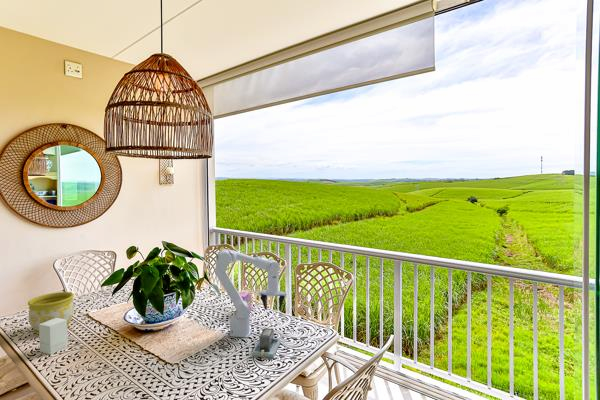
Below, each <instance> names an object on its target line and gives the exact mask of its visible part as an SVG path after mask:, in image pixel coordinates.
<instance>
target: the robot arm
mask: <svg viewBox="0 0 600 400" xmlns="http://www.w3.org/2000/svg"><path fill="white" fill-rule="evenodd" d="M237 261H240V262H244V263H249V264H252V265H253V267H254V268H257V269H261V270H264V271H267V284H266V286H267V290H259V291H258V296H260V300H261V302H262V304H263V308H264V310H265V311H266V310H267V308H268V296H269V297H278V311H279V312H281V310H282V307H283V303H284V300H285V298H287V297H288V292H285V291H281V290H279V281H280V280H279V271H280V269H281V267H280V265H279V263H278V262H277V261H276V260H274V259H273V258H266V257H264V256H263V255H257V256H255V257H253V256H251V255H248V254H245V253H242V252H240V251H236V250H233V249H228V248H222V249H220V250H219V251H218V252H217V254H216V257H215V266H214V273H215V275H216V277H217V279H218V280H219V282H220V284H221V285H222V287H223V288H224V290H225V292H226V294H227V295H228V297H229V298H230V300H231V302H232V304H233V306H234V309H235V314H233V315H231V317H230V319H229V320H230V321H229V335H228V336H229V337H237V338H248V337H249V336H250V335H251V333H252V331H253V328H251V326H250V325H251V322H250V321H251V320H250V317H251V315H250V314H251V313H250V312H251V310H249V308H248V304H247V302H246V301H245V300H243V299H242V297H241V296H240V294H239V293H240V292H239V291H238V290H237V288H236V286H235V284H234V283H233V281H232V279H231V278H230V276H229V275H228V273H227V268H228V266H229V265H230V264H231V262H232V263H235V262H237ZM236 311H237V313H236Z"/></svg>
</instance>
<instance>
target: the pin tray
mask: <svg viewBox="0 0 600 400" xmlns="http://www.w3.org/2000/svg"><path fill="white" fill-rule="evenodd" d="M280 344H281V338H278V337H276V338H275V337H274V344H273V346H272V349H271V351H270V352H264V350H261V352H260V338H259V339H258V340H257V343H256V345H255V346H254V348H253V350H252V351H251V357H254V358H255V357H256V358H261V359H262V360H263V359H264V358H265V359H275V356H276V354H277V351H278V348H279V347H280ZM261 359H260V360H261Z"/></svg>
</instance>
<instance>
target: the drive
mask: <svg viewBox="0 0 600 400" xmlns="http://www.w3.org/2000/svg"><path fill="white" fill-rule="evenodd" d="M274 332H275V330H274V328H266V327H265V328H263V330H262V332H261V334H260V335H259V339H260V352H261V350H264V352H270V351H271V349H272V346H273V344H274V338H275V335H274V334H275V333H274Z"/></svg>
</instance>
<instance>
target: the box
mask: <svg viewBox="0 0 600 400" xmlns="http://www.w3.org/2000/svg"><path fill="white" fill-rule="evenodd" d="M238 293H239V294H240V296H241V297H242V299H243V300H245V301H246V302H247V304H248V308H249V310H250V311H251V310H252V290H250V289H241V291H240V292H238ZM236 313H237V311H236V310H235V314H236Z"/></svg>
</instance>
